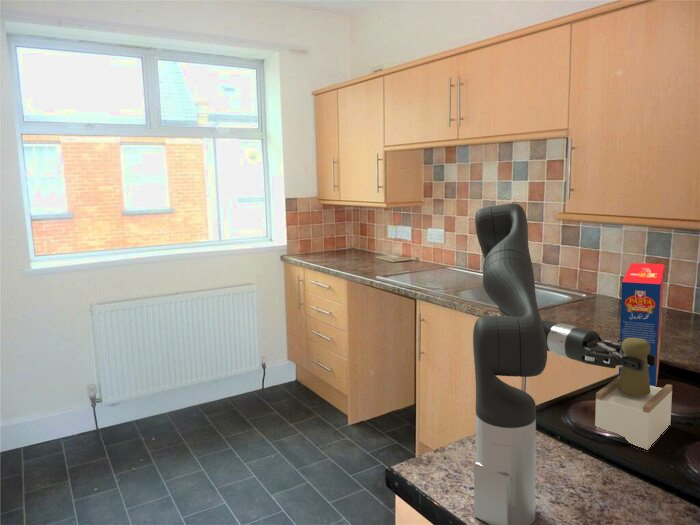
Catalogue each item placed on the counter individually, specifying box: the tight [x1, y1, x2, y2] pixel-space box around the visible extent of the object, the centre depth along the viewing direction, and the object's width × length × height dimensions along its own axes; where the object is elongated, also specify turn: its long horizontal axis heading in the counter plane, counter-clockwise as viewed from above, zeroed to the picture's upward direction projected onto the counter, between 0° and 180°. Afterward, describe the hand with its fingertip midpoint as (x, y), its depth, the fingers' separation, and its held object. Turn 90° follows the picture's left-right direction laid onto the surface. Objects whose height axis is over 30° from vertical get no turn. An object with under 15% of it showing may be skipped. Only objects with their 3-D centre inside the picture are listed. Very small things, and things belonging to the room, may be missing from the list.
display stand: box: [594, 375, 673, 451], centre depth 107 cm, size 14×10×9 cm
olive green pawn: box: [618, 338, 651, 396], centre depth 106 cm, size 6×6×11 cm
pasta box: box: [618, 262, 665, 387], centre depth 134 cm, size 28×8×28 cm, turn 147°
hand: (649, 363), depth 103 cm, fingers closed on olive green pawn, 4 cm apart
